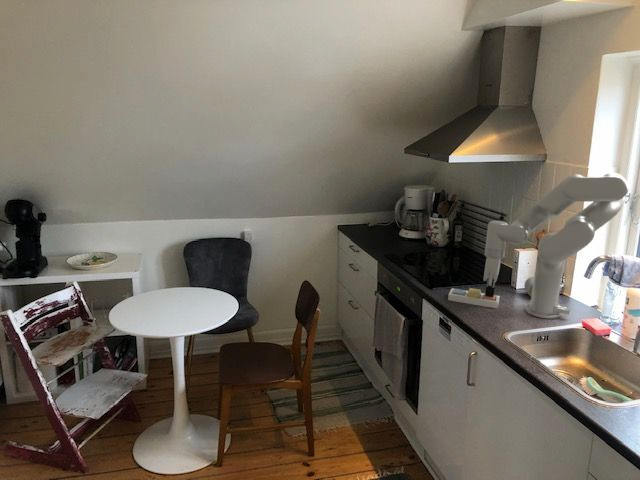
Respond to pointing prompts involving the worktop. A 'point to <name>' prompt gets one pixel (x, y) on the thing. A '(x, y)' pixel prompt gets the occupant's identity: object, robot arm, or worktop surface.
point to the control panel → (474, 299)
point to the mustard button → (474, 293)
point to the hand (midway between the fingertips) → (489, 295)
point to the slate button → (459, 292)
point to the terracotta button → (489, 297)
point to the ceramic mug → (529, 285)
